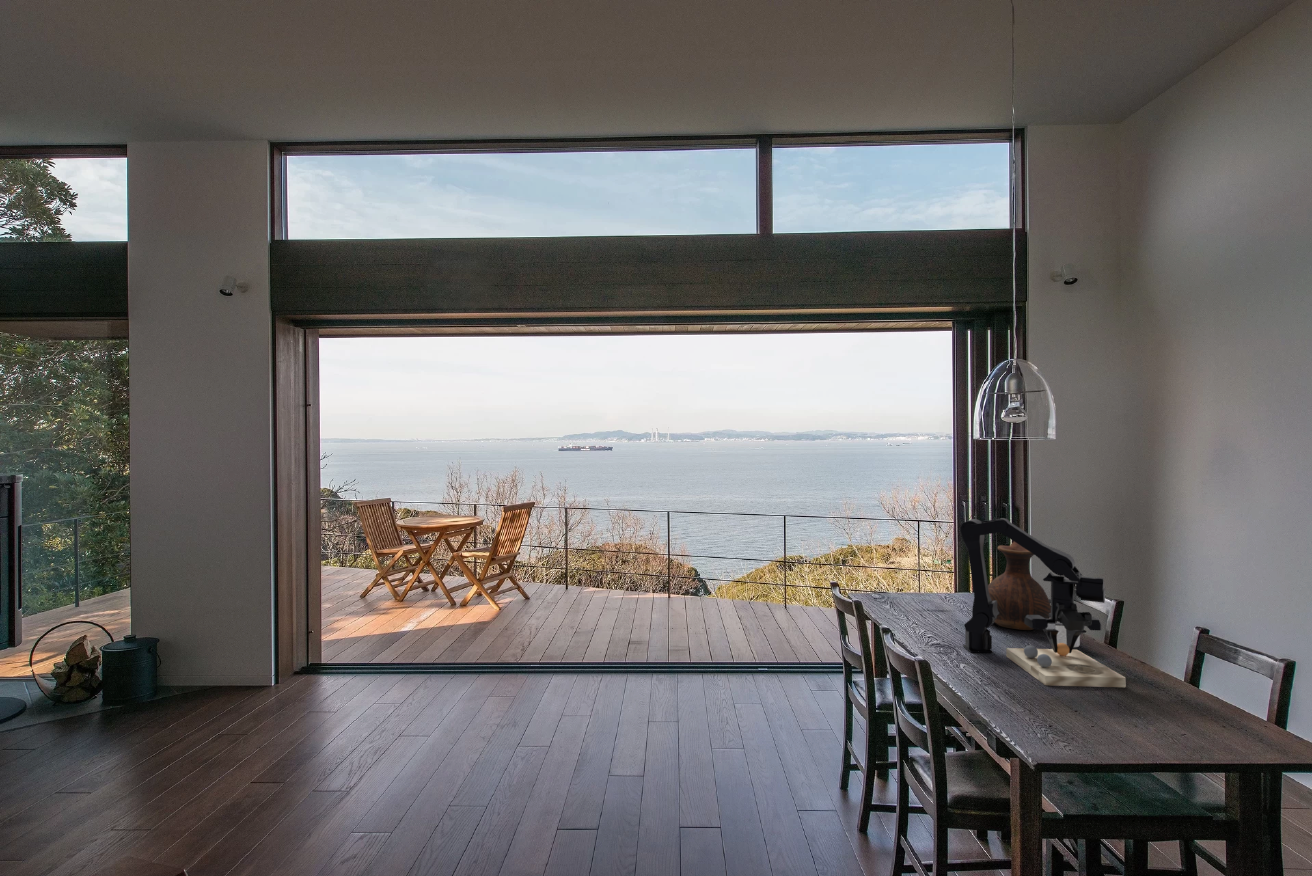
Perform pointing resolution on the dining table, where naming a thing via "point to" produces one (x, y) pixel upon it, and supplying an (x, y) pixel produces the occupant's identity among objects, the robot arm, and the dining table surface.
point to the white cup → (1064, 636)
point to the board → (1067, 669)
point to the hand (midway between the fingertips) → (1062, 652)
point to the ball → (1062, 649)
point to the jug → (1017, 590)
